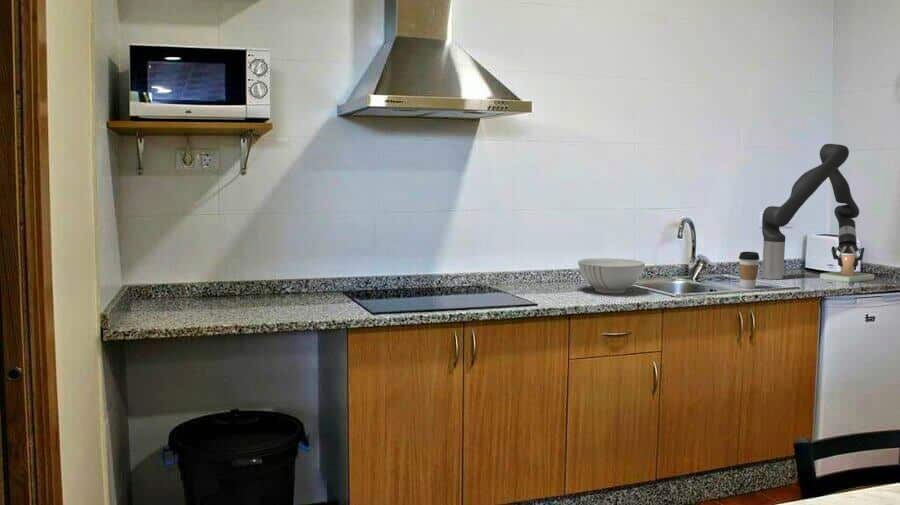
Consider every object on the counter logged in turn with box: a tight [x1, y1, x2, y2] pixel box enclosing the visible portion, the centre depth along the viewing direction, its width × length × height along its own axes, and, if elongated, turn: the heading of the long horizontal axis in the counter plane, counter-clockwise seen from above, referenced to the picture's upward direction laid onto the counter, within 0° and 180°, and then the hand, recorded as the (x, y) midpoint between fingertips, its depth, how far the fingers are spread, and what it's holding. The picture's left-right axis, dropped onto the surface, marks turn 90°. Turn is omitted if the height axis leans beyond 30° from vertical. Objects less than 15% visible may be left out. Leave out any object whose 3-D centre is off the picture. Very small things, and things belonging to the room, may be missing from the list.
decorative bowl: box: [577, 257, 646, 294], centre depth 318 cm, size 27×27×12 cm
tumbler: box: [840, 253, 855, 276], centre depth 358 cm, size 6×6×10 cm
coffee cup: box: [738, 251, 760, 289], centre depth 331 cm, size 8×8×15 cm
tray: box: [819, 270, 875, 284], centre depth 358 cm, size 20×14×2 cm
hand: (848, 265), depth 356 cm, fingers closed on tumbler, 5 cm apart
